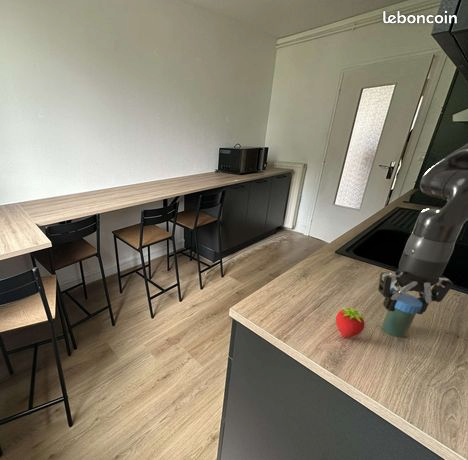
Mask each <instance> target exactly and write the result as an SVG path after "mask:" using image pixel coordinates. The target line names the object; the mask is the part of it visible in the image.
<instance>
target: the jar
mask: <svg viewBox="0 0 468 460" xmlns="http://www.w3.org/2000/svg"><path fill="white" fill-rule="evenodd" d="M416 315H417V314H411V313H406V312H403V311H400V310H398V309H396V308H395V307H394V308H393V310H392V311H388V310H387V309H386V313H385V316H384V318H383V321H382V324H381V329H382V330H383V331H384V332H385V333H386V334H388V335H390V336H391V337H395V338H398V339H404V338H406V337H407V335H408V333H409V331H410V330H411V329H410V328H411V327H412V324H413V322H414V319H415V318H416Z"/></svg>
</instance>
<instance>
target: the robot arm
mask: <svg viewBox="0 0 468 460" xmlns="http://www.w3.org/2000/svg"><path fill="white" fill-rule="evenodd" d="M419 187H420V190H421V192H422V193H423V194H424V195H426V196H428V197H432V198H435V199H440V200H444V201H447V202H446V203H445V205H444V206H443V207H442V208H426V209H423V210H422V211H421V212H419V215H418V216H417V219H416V221H415V224H414V227H413V229H412V232H411V234H410V236H408V239H407V241H406V243H405V246H404V248H403V251H402V254H401V257H400V258H399V263H398V269H397V270H396V271H395V272H394V273H387V272H385V271H382V272H380V273H379V274H380V275H379V283H378V289H377V291H378V292H379V293H380V294H381V295H382V296H383V297H384V300H383V303H382V305H383V307H384V308H385V309H386V311H387V310H388V311H392V310H393V308H394V305H395V303H396V299H397V298H398V297H399V296H400V295H404V294H405V293H408V292H417V293H418V297H417V298H418V299H419V300H420V301H421V302H422V303H423V305H422V308H421V310H420V312H419V313H417V314H418V315H423V313H425V312H426V311H427V309H428V307H429V305H430V304H432V302H436V303H441V302H442V301H443V300H444V298H445V297H446V296H447V295H448V292H449V291H450V290H451V289H452V287H453V285H454V282H452V280H450V279H449V278H448V277H445V276H443V274H444V272H445V269H446V267H447V265H448V263H449V261H450V259H451V256H452V254H453V252H454V249H455V244H456V241H457V240H458V237H459V235H460V233H461V231H462V228H463V227H464V224H465V223H466V222H467V221H468V142H467V143H466V144H464V145H463V146H461V147H460V148H458V149H456V150H455V151H453V152H452V153H450V154H449V155H447V156H446V157H444V158H443V159H441V160H439V161H438V162H437V163H436V164H435V165H432V166H431V168H429V169H428V170H427V171H426V172H425V173H424V175H423V176H422V177H421V180H420V184H419ZM431 287H432V288H431ZM393 292H394V293H393ZM417 314H416V315H417Z"/></svg>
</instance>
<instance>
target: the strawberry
mask: <svg viewBox="0 0 468 460" xmlns="http://www.w3.org/2000/svg"><path fill="white" fill-rule="evenodd" d="M359 309H360V308H356V309H352V307H350V306H349V308H344V307H342V309H340V310H339V311H338V312H337V314H336V316H335V323H336V326H337V330H338V332H339V333H340V335H341V337H342V338H344V339H348V338H353V337H357V336H358V335H360V334H361V333H362V332H363V331H364V328H365V320H367V318H366V317H365V316H363V315H361V314H360V313H359V312H358V311H359Z"/></svg>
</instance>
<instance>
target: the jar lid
mask: <svg viewBox="0 0 468 460" xmlns="http://www.w3.org/2000/svg"><path fill="white" fill-rule="evenodd" d="M393 293H394V292H393ZM418 298H419V297H417V296H414V295H412V294H410V293H408V292H406V293H405V294H404V295H400V296H399V297H398V298H397V299H396V303H395V305H394V307H395V308H396V309H398V310H400V311H403V312H406V313H411V314H416V315H417V313H419V312H420V310H421V308H422V305H423V303H422V302H421V301H420V300H419V299H418Z"/></svg>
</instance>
